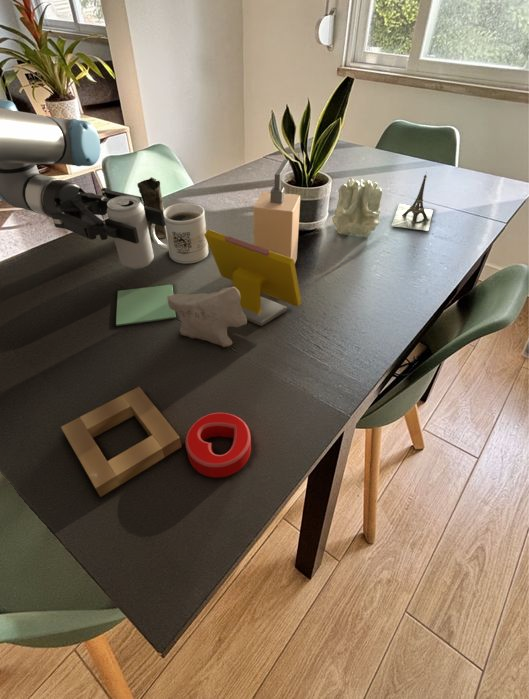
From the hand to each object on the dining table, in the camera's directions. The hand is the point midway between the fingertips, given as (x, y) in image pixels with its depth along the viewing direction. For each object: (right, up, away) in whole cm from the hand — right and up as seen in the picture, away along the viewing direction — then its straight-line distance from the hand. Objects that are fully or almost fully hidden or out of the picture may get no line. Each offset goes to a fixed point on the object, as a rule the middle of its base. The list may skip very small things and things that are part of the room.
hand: (149, 227), depth 75 cm
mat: (-6, -12, +17) cm, 22 cm away
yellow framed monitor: (+17, -13, +16) cm, 27 cm away
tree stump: (-9, +11, +42) cm, 44 cm away
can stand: (-2, -36, -8) cm, 37 cm away
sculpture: (+9, -20, +8) cm, 24 cm away
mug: (0, +3, +33) cm, 33 cm away
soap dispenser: (+23, 0, +30) cm, 38 cm away
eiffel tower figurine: (+62, +16, +47) cm, 80 cm away
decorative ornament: (+13, -37, -9) cm, 40 cm away
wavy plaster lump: (+45, +12, +43) cm, 63 cm away
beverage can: (-4, -5, +8) cm, 10 cm away
